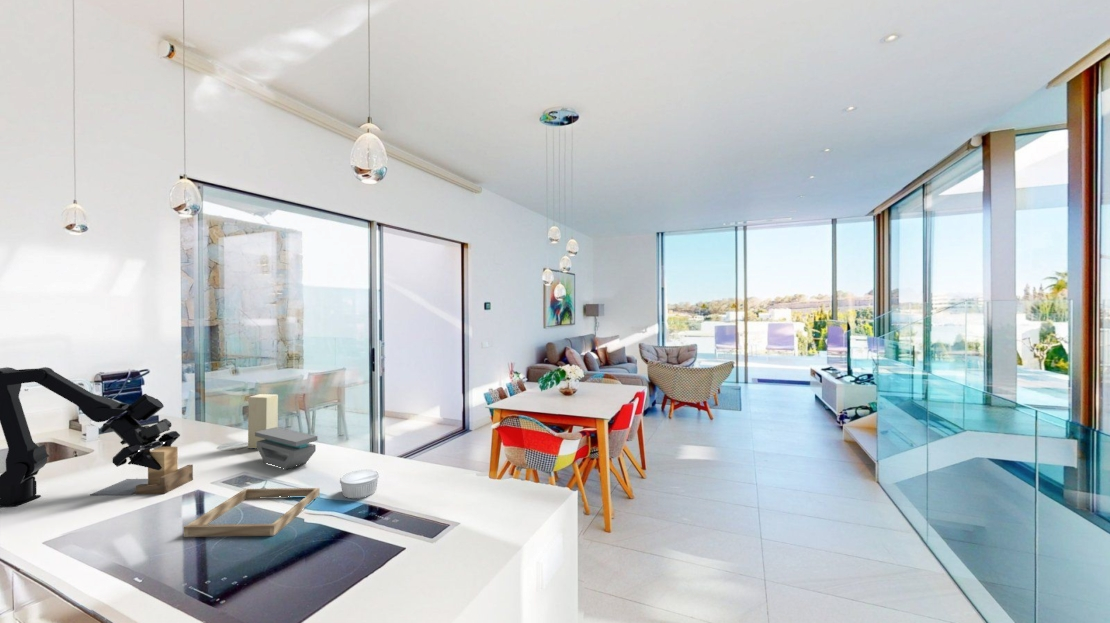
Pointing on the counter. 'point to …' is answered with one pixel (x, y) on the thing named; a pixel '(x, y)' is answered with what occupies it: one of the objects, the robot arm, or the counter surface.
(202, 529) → the oak frame
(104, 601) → the counter surface
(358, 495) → the ramekin
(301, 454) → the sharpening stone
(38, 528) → the counter surface
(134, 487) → the charcoal rubber mat
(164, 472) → the teak block
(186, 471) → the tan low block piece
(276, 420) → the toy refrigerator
